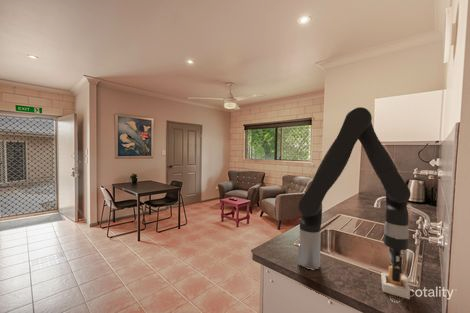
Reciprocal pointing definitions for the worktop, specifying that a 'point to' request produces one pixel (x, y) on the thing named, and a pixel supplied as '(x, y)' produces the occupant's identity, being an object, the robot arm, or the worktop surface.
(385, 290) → the housing
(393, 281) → the orange capsule
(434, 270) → the worktop surface
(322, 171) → the robot arm
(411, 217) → the worktop surface
